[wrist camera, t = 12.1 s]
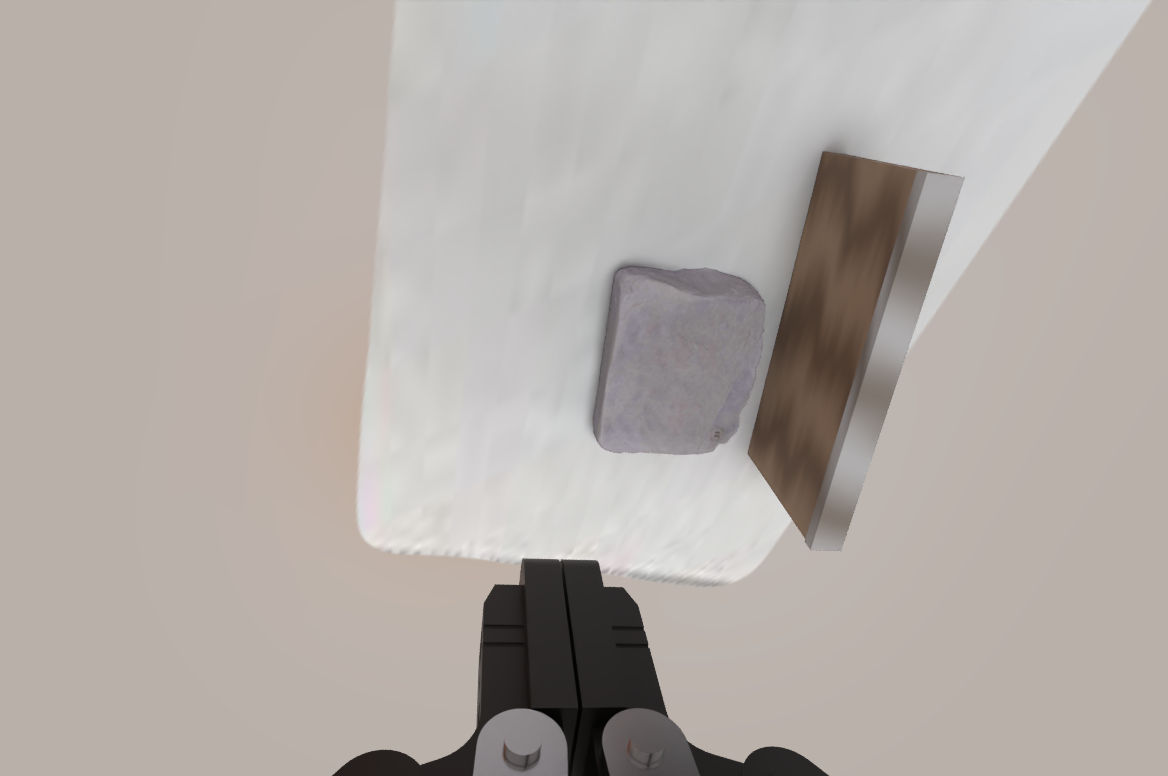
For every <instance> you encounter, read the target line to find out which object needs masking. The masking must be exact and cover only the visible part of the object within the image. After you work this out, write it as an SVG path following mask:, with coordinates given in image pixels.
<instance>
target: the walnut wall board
mask: <svg viewBox="0 0 1168 776" xmlns="http://www.w3.org/2000/svg"><path fill="white" fill-rule="evenodd" d="M963 181H964V177H959V176H954V175H948V174H943V173H938V172H933V171H927V170H922V169H917V168H912V167H907V166H902V165H897V164H892V163H887V162H882V161H877V160H872V159H866V158H861V157H856V156H851V155H846V154H838V153H830V152H823V153H822V157H821V162H820V166H819V170H818V174H817V178H816V182H815V186H814V190H813V194H812V198H811V202H810V206H809V210H808V214H807V218H806V222H805V226H804V230H803V234H802V238H801V242H800V246H799V250H798V254H797V258H796V262H795V266H794V270H793V274H792V278H791V282H790V286H789V290H788V294H787V298H786V302H785V306H784V310H783V314H782V318H781V322H780V326H779V330H778V334H777V338H776V342H775V346H774V350H773V354H772V358H771V362H770V366H769V370H768V374H767V378H766V382H765V386H764V390H763V395H762V399H761V403H760V407H759V411H758V415H757V419H756V423H755V427H754V431H753V435H752V439H751V443H750V447H749V451H748V455H749V456H750V458H751V459H752V461H753V462H754V464H755V465H756V467H757V468H758V470H759V471H760V473H761V474H762V476H763V477H764V478H765V480H766V481H767V483H768V484H769V486H770V487H771V489H772V490H773V492H774V493H775V495H776V496H777V498H778V499H779V501H780V502H781V504H782V505H783V507H784V508H785V509H786V511H787V512H788V514H789V515H790V517H791V518H792V520H793V521H794V523H795V524H796V526H797V527H798V529H799V530H800V531H801V533H802V535H803V536H804V538H805V543H806V544H807V546H808V547H809V548H810V550H819V551H822V550H823V551H841V550H842V547H843V543H844V541H845V537H846V535H847V531H848V529H849V525H850V522H851V519H852V516H853V513H854V510H855V507H856V504H857V501H858V498H859V495H860V492H861V489H862V486H863V483H864V480H865V477H866V474H867V471H868V468H869V465H870V462H871V459H872V456H873V453H874V450H875V447H876V444H877V441H878V438H879V435H880V432H881V429H882V426H883V423H884V420H885V417H886V414H887V410H888V408H889V404H890V402H891V399H892V395H893V392H894V389H895V387H896V384H897V380H898V377H899V375H900V372H901V369H902V366H903V363H904V359H905V356H906V353H907V350H908V347H909V344H910V341H911V338H912V335H913V332H914V329H915V326H916V323H917V320H918V317H919V314H920V311H921V308H922V305H923V302H924V299H925V296H926V293H927V290H928V287H929V284H930V281H931V278H932V275H933V272H934V269H935V266H936V263H937V260H938V257H939V254H940V251H941V248H942V245H943V242H944V239H945V236H946V233H947V230H948V227H949V224H950V221H951V218H952V215H953V212H954V209H955V206H956V203H957V200H958V196H959V193H960V190H961V187H962V184H963Z"/></svg>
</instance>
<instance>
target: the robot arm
mask: <svg viewBox="0 0 1168 776" xmlns="http://www.w3.org/2000/svg"><path fill="white" fill-rule="evenodd" d="M520 573H521V574H520V582H519V585H495V586H494V587H493V589H492V591H491V592H490V594H489V595H488V597H487V599H486V601H485V602H484V607H483V620H482V631H481V643H480V655H479V674H478V702H477V704H478V705H477V728H476V730H475V732H474V734H473V735H472V737H471V738H470V739H469V740H468V741H467V743H465V745H464V746H462V747H461V748H460V749H458V750H457V751H455V752H453V753H452V754H450V755H448V756H446V757H443V758H441V759H438V760H435V761H431V762H428V763H425V764H422V765H419V764H418V763H417V762H416V761H415V760H414V759H413V758H411V757H410V756H408V755H406V754H404V753H401V752H398V751H393V750H377V751H371V752H368V753H365V754H362V755H360V756H357V757H356V758H354V759H352V760H350V761H349V762H348V763H346V764H345V765H344V766H342V767H341V768H340V769H339V770H338V771H337V772H336V773H335V774H334V775H332V776H829V775H827V774H826V773H825V772H823V771H822V770H821V769H819V768H818V767H817V766H816V765H814V764H813V763H812V762H810V761H809V760H808V759H806V758H805V757H803V756H802V755H800V754H798V753H796V752H794V751H791V750H789V749H785V748H781V747H764V748H760V749H757V750H755V751H754V752H752V753H751V754H750V755H749V756H748V757H747V759H746V760H745V762H744V763H741V762H737V761H734V760H731V759H727V758H724V757H720V756H717V755H713V754H711V753H708V752H705V751H703V750H701V749H699V748H697V747H695V746H694V745H692V744H691V743H689V742H688V741H687V740H686V737H685V736H684V734H683V732H682V731H681V729H680V728H679V727H678V726H677V725H676V724H675V723H674V722H673V721H672V720H671V719H669V718H668V715H667V712H666V709H665V705H664V701H663V697H662V694H661V690H660V686H659V682H658V679H657V675H656V671H655V667H654V664H653V660H652V656H651V652H650V649H649V648H648V641H647V637H646V633H645V631H644V626H643V622H642V618H641V615H640V611H639V607H638V605H637V604H636V603H635V601H634V600H633V599H632V598H631V597H630V595H629V594H628V593H627V592H626V590H625V589H624V588H622V587H604V586H603V582H602V576H601V571H600V567H599V563H598V561H596V560H563V559H562V560H561V561H559V560H558V559H524V558H523V559H522V564H521V572H520Z"/></svg>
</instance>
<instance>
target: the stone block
mask: <svg viewBox="0 0 1168 776" xmlns="http://www.w3.org/2000/svg"><path fill="white" fill-rule="evenodd" d="M764 315H765V303H764V300H763V299H762V298H761V296H760V295H759V293H758V292H757V291H756V290H755V289H754V288H753V287H751V285H750V284H748V283H747V282H745V281H743V280H741V279H740V278H737V277H735V276H732V275H727V274H724V273H721V272H719V271H717V270H712V269H708V268H701V269H690V270H687V269H682V270H678V271H664V270H661V269H656V268H645V267H628V268H623V269H620V270H619V271H618V272H617V273H616V274H615V277H614V283H613V288H612V295H611V303H610V310H609V316H608V324H607V332H606V338H605V344H604V351H603V358H602V364H601V372H600V379H599V387H598V393H597V399H596V406H595V413H594V418H593V420H594V435H595V437H596V440H597V442H598V443H599V445H600V446H601V447H602V448H603V449H605V450H608V451H610V452H614V453H622V452H628V453H639V452H643V453H658V454H673V455H687V454H702V453H708V452H712V451H713V450H714V449H715V448H716V447H717V446H718V444H725V443H726V442H727V441H728V440H729V439H730V438H731V437H732V436H733V435H734V434H735V433H736V432H737V430H738V427H739V415H740V412H741V410H742V408H743V407H744V406H745V405H746V403H747V401H748V398H749V395H750V392H751V390H752V387H753V384H754V379H755V375H756V368H757V366H758V363H759V360H760V358H761V350H762V337H761V335H762V333H763V332H764V328H763V326H764Z"/></svg>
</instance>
